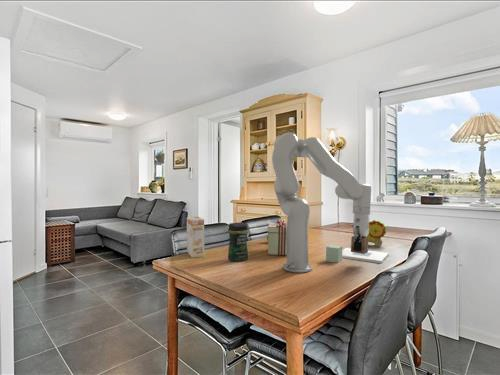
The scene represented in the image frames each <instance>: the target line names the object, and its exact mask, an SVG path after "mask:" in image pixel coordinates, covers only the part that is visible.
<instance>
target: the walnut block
mask: <svg viewBox="0 0 500 375" xmlns="http://www.w3.org/2000/svg"><path fill="white" fill-rule="evenodd" d="M359 238H360V237H359ZM361 243H362V246H361V251H354V235H352V236H351V241H350V248H351V252H354V253H360V254H366V253H367V252H368V251H369V242H368V237H365V236H364V237H363V236H362V238H361Z"/></svg>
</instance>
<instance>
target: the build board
mask: <svg viewBox="0 0 500 375" xmlns="http://www.w3.org/2000/svg"><path fill="white" fill-rule="evenodd" d="M389 254H390V252H384V251H375V250H368V252H367V253H366V254H360V253H354V252H351V247H346V248H344V249H343V248H342V259H349V260H355V261H361V262H362V261H363V262H368V263H376V264H382V263H384V262H385V260H386V259H387V258H388V257H389Z"/></svg>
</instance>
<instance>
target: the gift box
mask: <svg viewBox="0 0 500 375" xmlns="http://www.w3.org/2000/svg"><path fill="white" fill-rule="evenodd" d="M286 227H287V222H285V220H284V219H277V220H276V222H275V223H274V222H269V223H268V226H267V235H268V240H267V254H268V255H275V256H277V255H278V256H287V233H286Z"/></svg>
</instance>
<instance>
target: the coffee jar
mask: <svg viewBox="0 0 500 375" xmlns="http://www.w3.org/2000/svg"><path fill="white" fill-rule="evenodd" d="M227 232H228V236H229V242H228V244H229V245H228V253H227V259H228V260H229V261H231V262H243V261H247V260H248V258H249V252H248V242H247V240H248V239H247V236H248V233H249V229H248V223H247V222H231V223H229V224H228V229H227Z"/></svg>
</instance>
